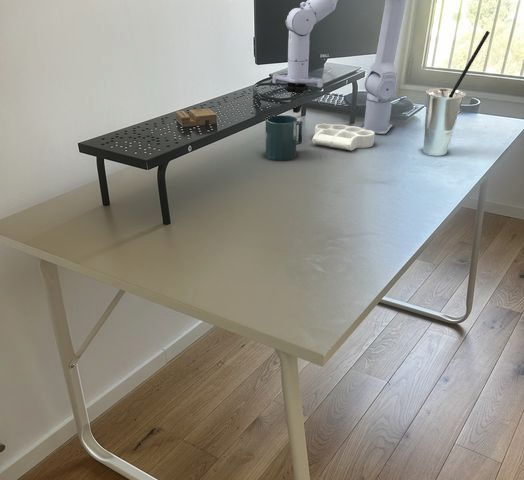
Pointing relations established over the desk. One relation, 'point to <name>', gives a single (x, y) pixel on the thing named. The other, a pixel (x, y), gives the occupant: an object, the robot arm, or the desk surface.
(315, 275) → the desk surface
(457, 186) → the desk surface
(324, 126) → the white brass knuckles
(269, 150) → the mug
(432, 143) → the metal cup with straw
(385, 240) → the desk surface
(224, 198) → the desk surface
